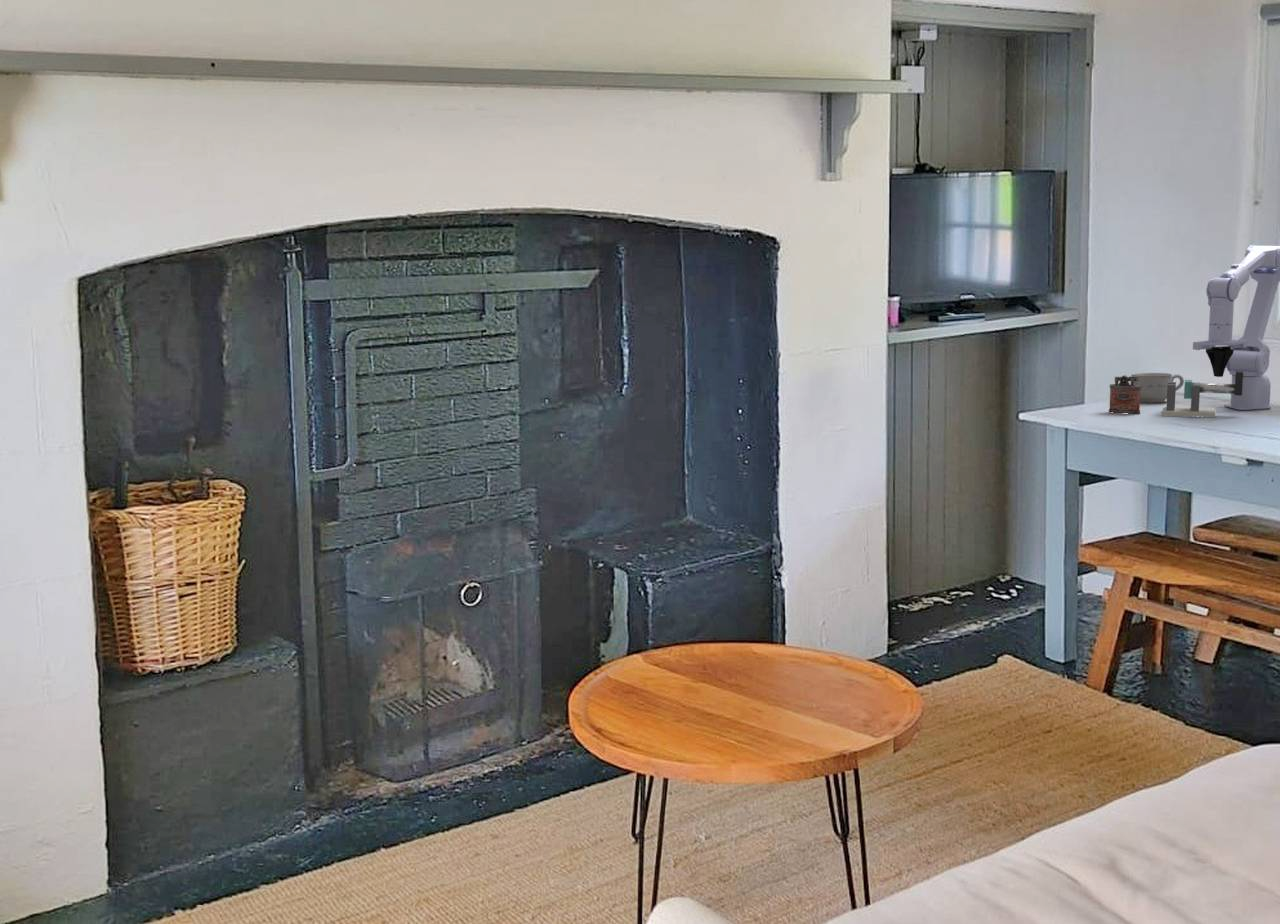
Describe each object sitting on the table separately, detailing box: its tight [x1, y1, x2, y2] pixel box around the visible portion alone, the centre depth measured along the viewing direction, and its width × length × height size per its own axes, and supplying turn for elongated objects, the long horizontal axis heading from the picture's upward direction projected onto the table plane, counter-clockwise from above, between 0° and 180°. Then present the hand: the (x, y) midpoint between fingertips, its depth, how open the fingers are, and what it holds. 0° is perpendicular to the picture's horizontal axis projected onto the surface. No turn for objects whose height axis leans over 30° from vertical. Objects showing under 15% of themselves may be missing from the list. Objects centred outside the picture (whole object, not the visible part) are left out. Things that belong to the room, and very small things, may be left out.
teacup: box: [1131, 372, 1185, 403], centre depth 432 cm, size 14×11×8 cm
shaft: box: [1192, 371, 1243, 396], centre depth 407 cm, size 14×2×6 cm, turn 70°
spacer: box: [1183, 379, 1193, 400], centre depth 409 cm, size 2×4×4 cm, turn 161°
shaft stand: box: [1161, 381, 1216, 418], centre depth 410 cm, size 13×9×8 cm
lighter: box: [1108, 374, 1141, 415], centre depth 413 cm, size 8×3×10 cm, turn 62°
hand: (1218, 376), depth 406 cm, fingers closed
